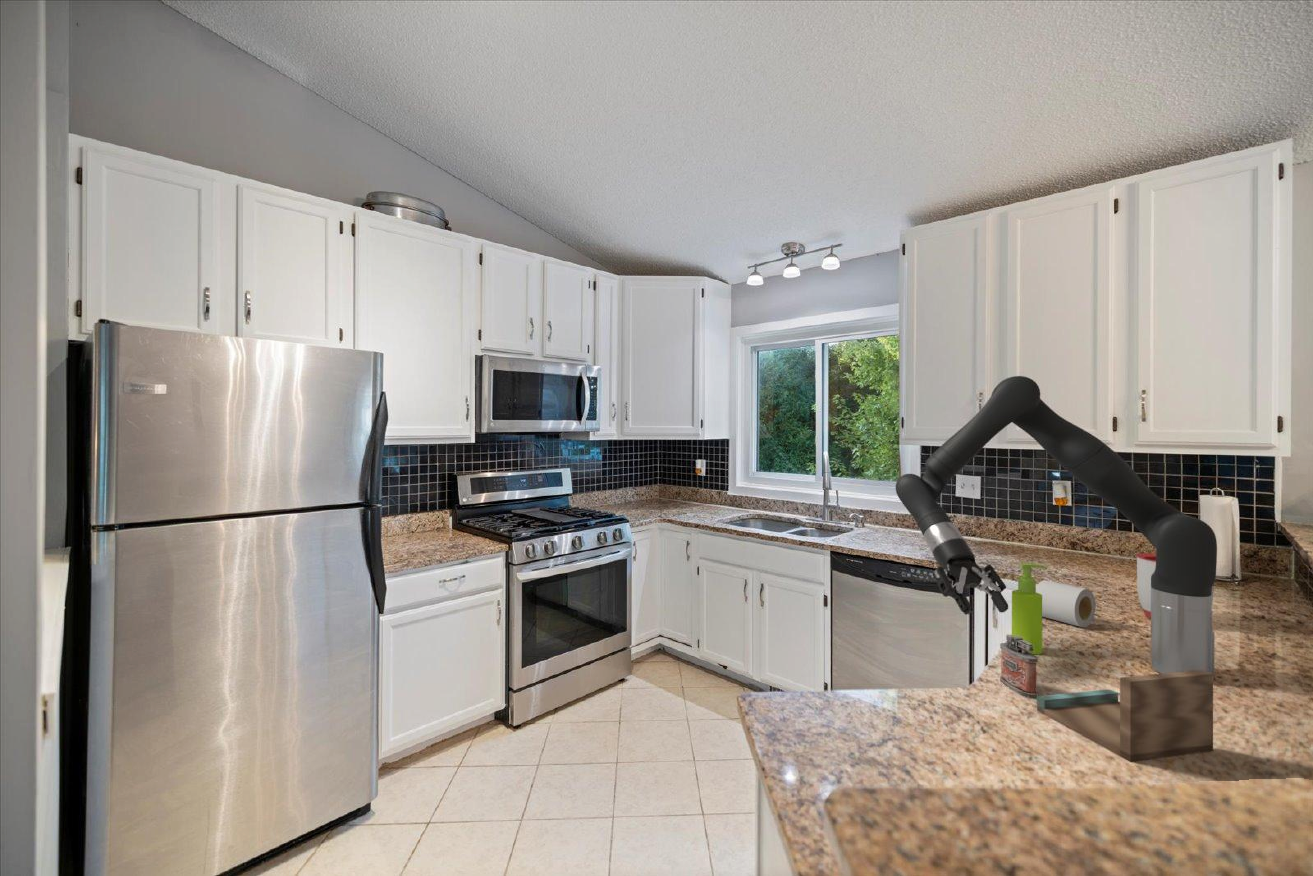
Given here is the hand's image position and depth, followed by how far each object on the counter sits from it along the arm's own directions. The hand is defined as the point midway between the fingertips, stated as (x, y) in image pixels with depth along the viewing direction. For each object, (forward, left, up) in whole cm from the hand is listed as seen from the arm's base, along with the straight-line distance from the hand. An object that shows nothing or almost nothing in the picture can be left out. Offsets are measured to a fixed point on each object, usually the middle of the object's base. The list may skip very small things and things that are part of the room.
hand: (987, 611), depth 114 cm
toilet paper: (-47, -25, -13) cm, 55 cm away
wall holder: (-4, +24, -13) cm, 27 cm away
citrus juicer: (-77, -19, -13) cm, 80 cm away
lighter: (0, +8, -13) cm, 15 cm away
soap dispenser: (-20, -9, -13) cm, 25 cm away
